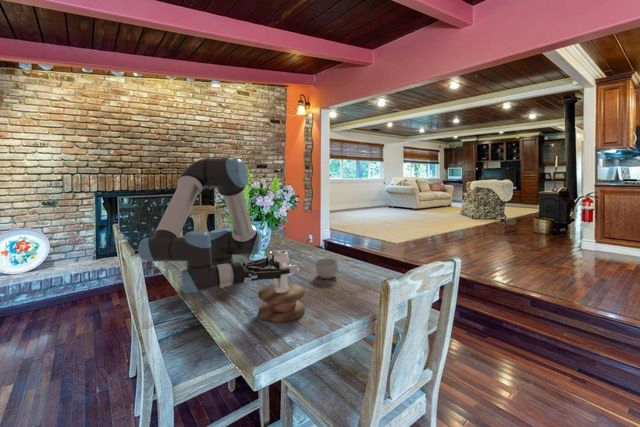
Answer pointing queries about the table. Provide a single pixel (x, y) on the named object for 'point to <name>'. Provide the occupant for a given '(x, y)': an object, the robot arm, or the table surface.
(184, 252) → the robot arm
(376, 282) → the table surface
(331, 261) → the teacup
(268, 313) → the walnut bobbin
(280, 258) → the beer glass
